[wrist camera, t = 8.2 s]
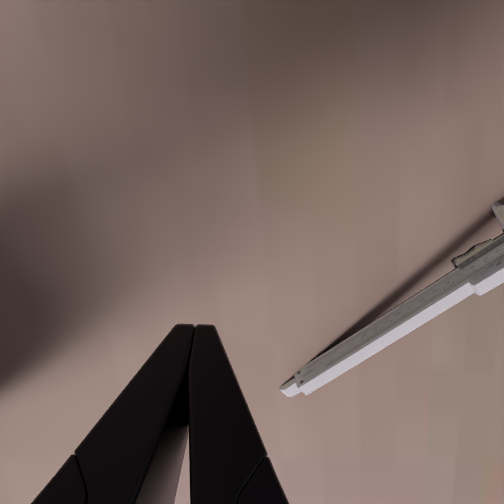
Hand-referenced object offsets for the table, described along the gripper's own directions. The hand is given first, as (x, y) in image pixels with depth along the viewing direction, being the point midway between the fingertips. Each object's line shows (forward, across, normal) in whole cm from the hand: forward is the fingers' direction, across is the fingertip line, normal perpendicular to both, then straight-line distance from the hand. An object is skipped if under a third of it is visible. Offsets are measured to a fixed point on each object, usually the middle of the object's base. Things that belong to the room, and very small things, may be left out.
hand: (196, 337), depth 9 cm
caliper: (+14, -12, +10) cm, 21 cm away
